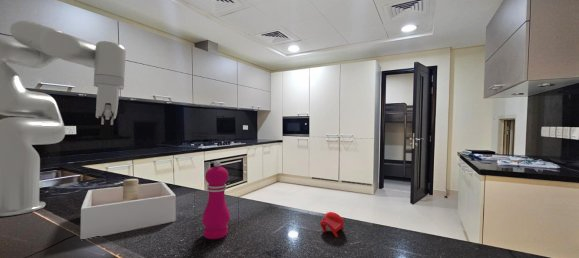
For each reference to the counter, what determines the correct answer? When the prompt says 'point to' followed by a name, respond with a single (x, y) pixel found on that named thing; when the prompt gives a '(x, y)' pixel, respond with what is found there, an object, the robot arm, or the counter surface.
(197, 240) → the counter surface
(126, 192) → the peg
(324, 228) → the red toy chair
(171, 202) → the box
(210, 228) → the pepper mill
